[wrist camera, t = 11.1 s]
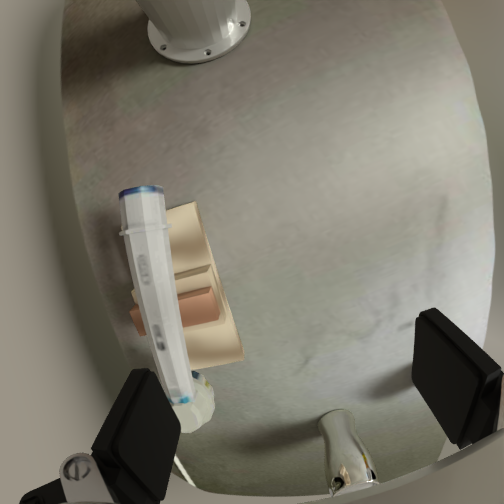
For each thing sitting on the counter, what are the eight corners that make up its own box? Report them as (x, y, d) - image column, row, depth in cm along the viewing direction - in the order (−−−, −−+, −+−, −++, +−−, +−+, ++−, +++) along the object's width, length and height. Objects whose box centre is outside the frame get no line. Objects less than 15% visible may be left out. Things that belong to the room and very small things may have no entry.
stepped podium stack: (127, 223, 34) (100, 234, 27) (195, 201, 33) (180, 206, 27) (181, 363, 39) (169, 395, 32) (244, 351, 38) (242, 384, 31)
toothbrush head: (160, 181, 22) (213, 448, 25) (182, 189, 29) (221, 411, 31) (103, 194, 22) (163, 447, 25) (134, 198, 29) (178, 412, 31)
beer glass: (307, 431, 42) (320, 504, 27) (329, 403, 40) (351, 479, 26) (341, 437, 42) (360, 505, 28) (364, 411, 41) (392, 480, 26)
